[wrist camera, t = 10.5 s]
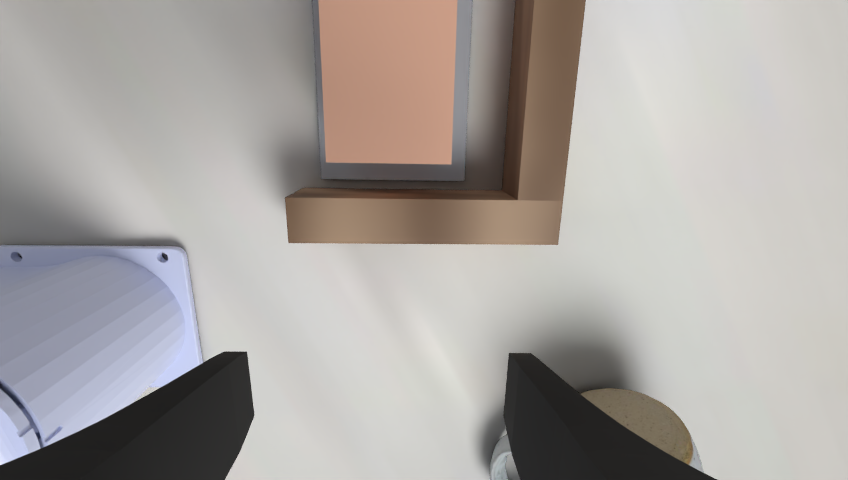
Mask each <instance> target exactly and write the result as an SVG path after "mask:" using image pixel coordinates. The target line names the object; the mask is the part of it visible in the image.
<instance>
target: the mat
mask: <svg viewBox="0 0 848 480" xmlns="http://www.w3.org/2000/svg"><path fill="white" fill-rule="evenodd" d="M472 2H473V0H457V27H456V53H455V80H454V107H453V134H452V161H451V164H392V163H330V162H326V153H325V132H324V110H323V89H322V67H321V45H320V24H319V2H318V0H312V8H313V28H314V48H315V67H316V87H317V107H318V126H319V146H320V165H321V179H359V180H433V181H464V178H465V156H466V134H467V112H468V90H469V68H470V46H471V24H472Z"/></svg>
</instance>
